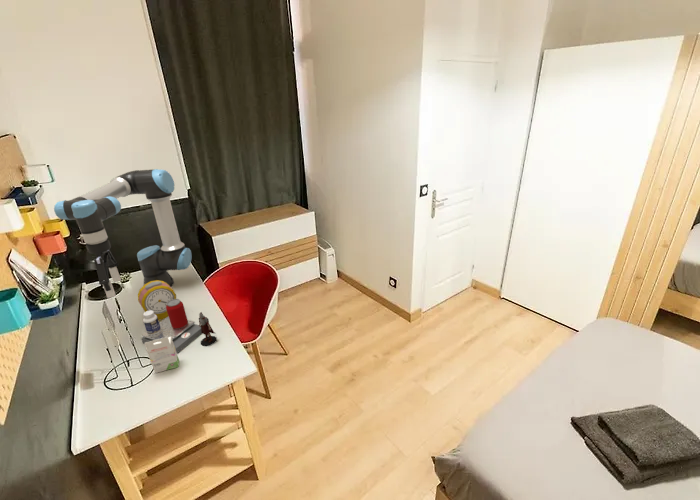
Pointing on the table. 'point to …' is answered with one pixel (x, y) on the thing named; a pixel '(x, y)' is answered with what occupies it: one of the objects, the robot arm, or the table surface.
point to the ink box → (162, 354)
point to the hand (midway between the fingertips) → (114, 288)
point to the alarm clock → (156, 297)
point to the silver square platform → (168, 330)
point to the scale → (182, 337)
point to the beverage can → (176, 313)
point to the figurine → (206, 331)
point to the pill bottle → (151, 323)
